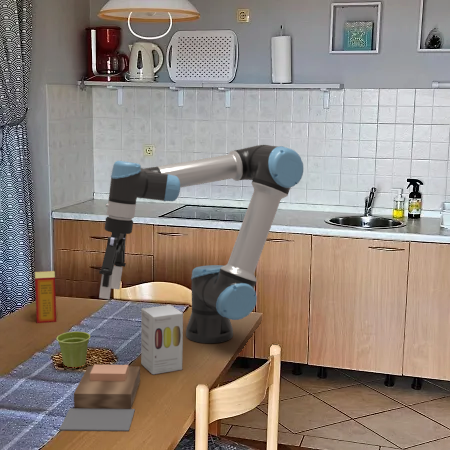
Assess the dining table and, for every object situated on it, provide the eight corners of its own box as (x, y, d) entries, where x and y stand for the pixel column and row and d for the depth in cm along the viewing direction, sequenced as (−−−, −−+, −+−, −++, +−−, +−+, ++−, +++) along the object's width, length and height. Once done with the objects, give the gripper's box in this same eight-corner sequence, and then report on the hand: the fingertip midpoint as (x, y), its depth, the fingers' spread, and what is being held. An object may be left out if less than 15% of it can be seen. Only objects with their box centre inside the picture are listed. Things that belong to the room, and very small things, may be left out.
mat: (134, 410, 171) (134, 408, 171) (128, 431, 160) (128, 429, 160) (69, 409, 171) (69, 408, 171) (59, 430, 160) (59, 429, 160)
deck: (140, 380, 189) (139, 366, 188) (131, 409, 171) (130, 394, 170) (88, 379, 189) (88, 365, 188) (74, 408, 171) (73, 393, 170)
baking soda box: (36, 314, 244) (35, 270, 242) (55, 313, 246) (54, 269, 243) (36, 323, 235) (34, 277, 233) (56, 321, 237) (54, 276, 234)
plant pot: (74, 374, 192) (74, 344, 191) (50, 367, 197) (49, 338, 195) (98, 364, 200) (97, 335, 198) (73, 357, 205) (73, 329, 203)
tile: (128, 372, 184) (128, 364, 184) (125, 381, 178) (125, 373, 178) (94, 371, 184) (94, 364, 184) (90, 380, 178) (90, 373, 178)
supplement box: (152, 375, 192) (151, 317, 189) (140, 364, 200) (139, 308, 197) (183, 369, 197) (183, 312, 194) (170, 358, 205) (170, 303, 202)
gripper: (115, 212, 202) (106, 282, 205) (95, 219, 178) (85, 300, 180) (141, 216, 202) (131, 286, 204) (124, 224, 177) (113, 304, 180)
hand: (109, 293), depth 192 cm, fingers open, 13 cm apart
